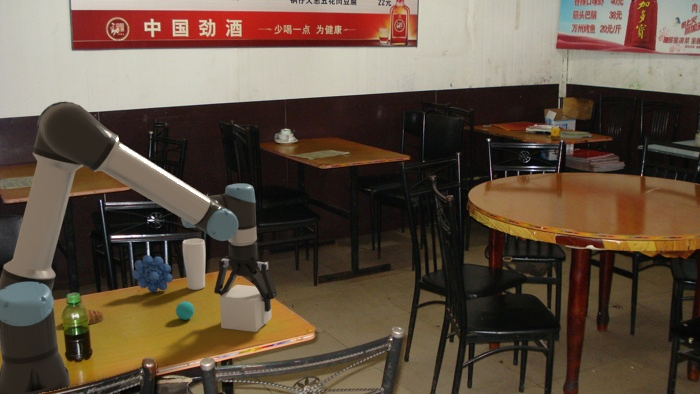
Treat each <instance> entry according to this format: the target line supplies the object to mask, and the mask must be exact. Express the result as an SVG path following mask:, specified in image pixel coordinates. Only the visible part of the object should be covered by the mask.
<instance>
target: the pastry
mask: <svg viewBox="0 0 700 394" xmlns="http://www.w3.org/2000/svg"><path fill="white" fill-rule="evenodd" d="M85 310H86V311H87V313H88V318H89V325H93V324H94V325H95V324H97V323H99V322H102V321H103V319H104V314H103V312H102V311H98V310H92V309H85ZM89 325H88V326H89Z"/></svg>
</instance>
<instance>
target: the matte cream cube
mask: <svg viewBox="0 0 700 394" xmlns="http://www.w3.org/2000/svg"><path fill="white" fill-rule="evenodd" d="M261 300H263V298H262V296H261V294H260V293H259V291H258V289H257V288H256V286H253V285H243V284H236V285H234V286H233V287H231V288H230V290H229V291H227V292H226V293H224V294H223V295H222V296H221V295H220V296H219V307H220V323H221V324H220V325H221V327H220V328H221V329H227V330H237V331H242V332H243V331H245V332H252V333H254V332H255V333H257V332H258V331H259V330H260V329H262V327H263V326H265V325H266V324H267V323H268V322H269V321H270V320H271V319H272V316H273V315H272V313H273V312H272V308H271V309H270V311H268V321H267V322H266V323H265V324H262V316H261Z"/></svg>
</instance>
